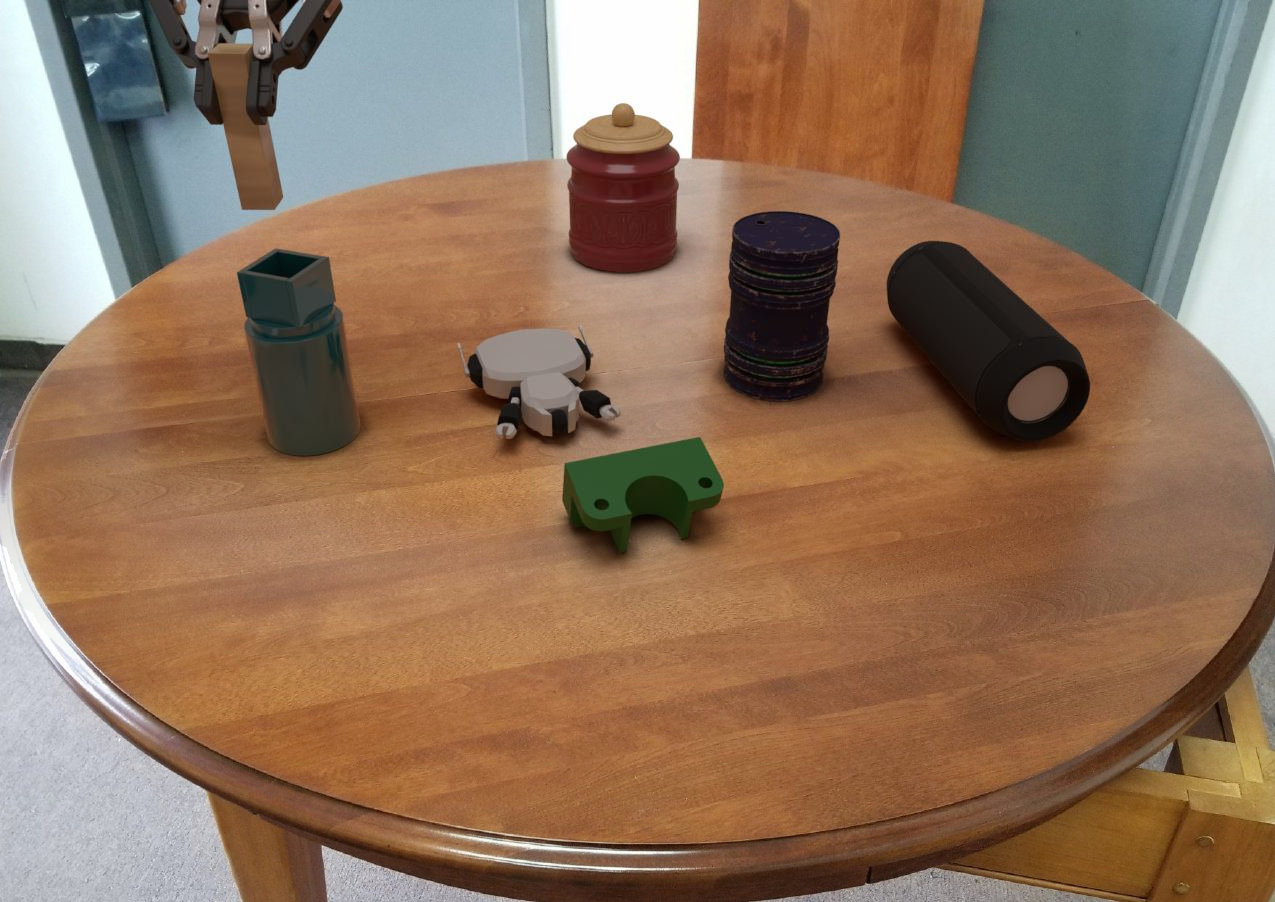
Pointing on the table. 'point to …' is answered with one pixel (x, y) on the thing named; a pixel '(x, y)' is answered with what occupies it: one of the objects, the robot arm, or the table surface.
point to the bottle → (299, 353)
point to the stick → (245, 129)
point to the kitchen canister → (623, 192)
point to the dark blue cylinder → (779, 304)
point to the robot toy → (537, 380)
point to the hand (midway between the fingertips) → (234, 118)
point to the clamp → (641, 487)
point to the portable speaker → (987, 342)
